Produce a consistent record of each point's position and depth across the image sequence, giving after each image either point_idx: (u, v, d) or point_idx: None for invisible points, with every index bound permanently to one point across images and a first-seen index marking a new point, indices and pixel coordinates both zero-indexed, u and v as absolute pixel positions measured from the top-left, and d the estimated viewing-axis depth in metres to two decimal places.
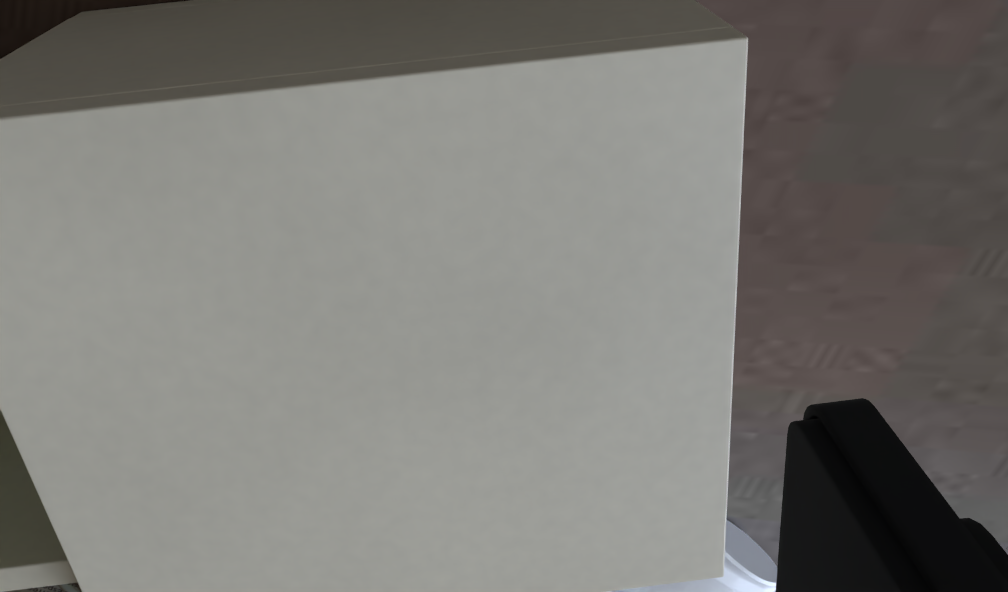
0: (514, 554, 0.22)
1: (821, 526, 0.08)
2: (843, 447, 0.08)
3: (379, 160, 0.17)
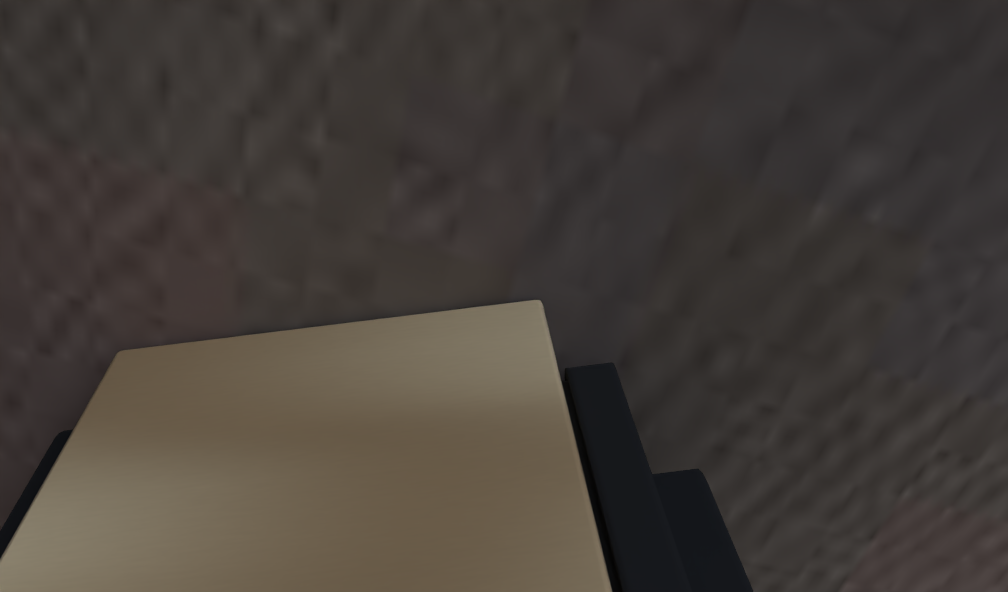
0: None
1: None
2: (576, 404, 0.09)
3: None
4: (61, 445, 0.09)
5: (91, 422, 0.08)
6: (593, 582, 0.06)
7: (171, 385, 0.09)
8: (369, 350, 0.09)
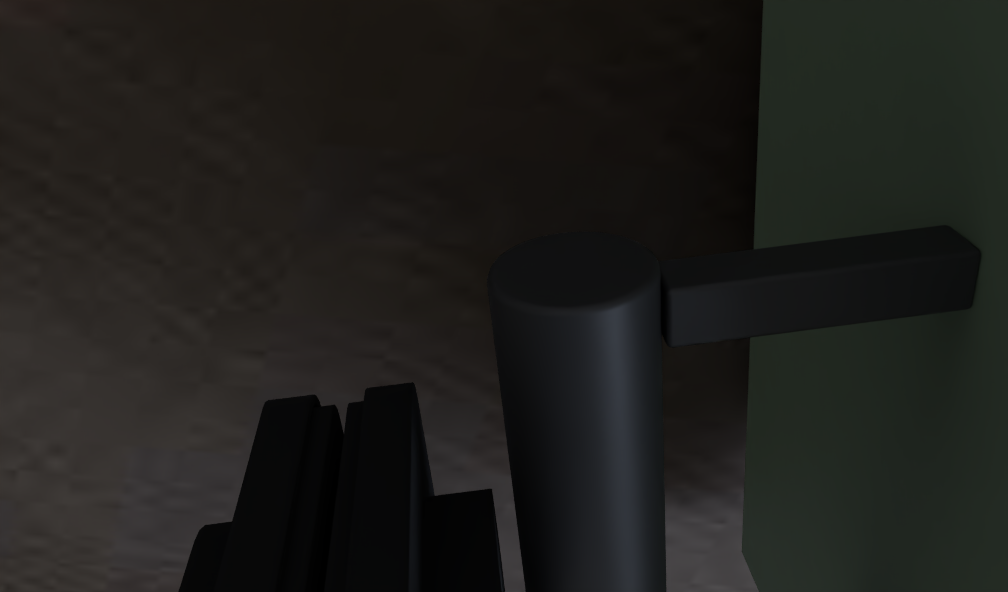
0: None
1: None
2: (365, 424, 0.09)
3: None
4: (272, 413, 0.09)
5: None
6: None
7: None
8: None
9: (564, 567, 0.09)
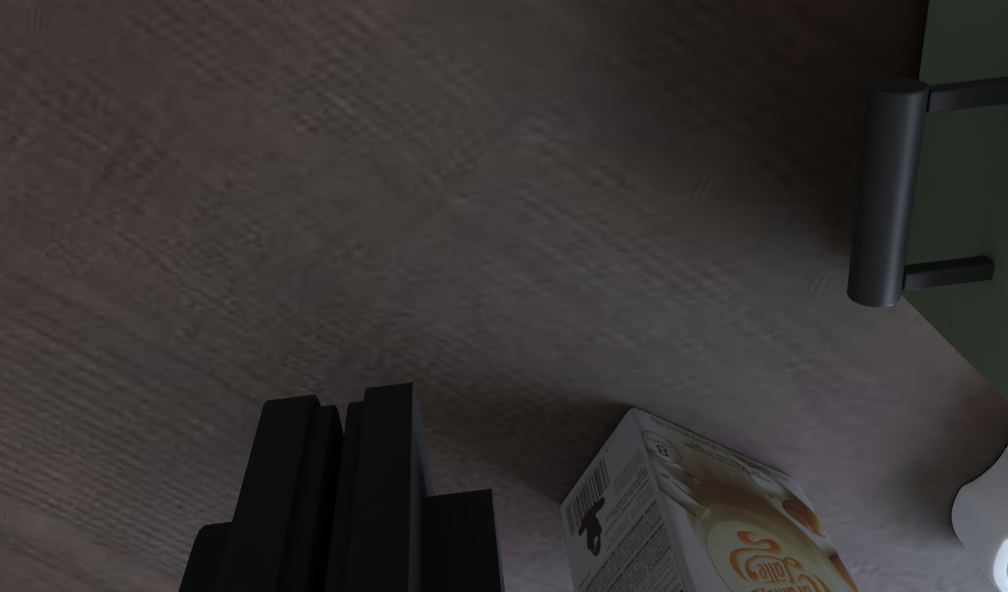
0: None
1: None
2: (365, 424, 0.09)
3: None
4: (272, 413, 0.09)
5: None
6: None
7: None
8: None
9: (884, 195, 0.25)
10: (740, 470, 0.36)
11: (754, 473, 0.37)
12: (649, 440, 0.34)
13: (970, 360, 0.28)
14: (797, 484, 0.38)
